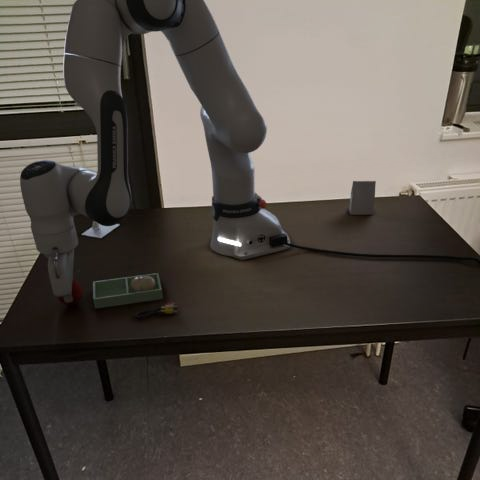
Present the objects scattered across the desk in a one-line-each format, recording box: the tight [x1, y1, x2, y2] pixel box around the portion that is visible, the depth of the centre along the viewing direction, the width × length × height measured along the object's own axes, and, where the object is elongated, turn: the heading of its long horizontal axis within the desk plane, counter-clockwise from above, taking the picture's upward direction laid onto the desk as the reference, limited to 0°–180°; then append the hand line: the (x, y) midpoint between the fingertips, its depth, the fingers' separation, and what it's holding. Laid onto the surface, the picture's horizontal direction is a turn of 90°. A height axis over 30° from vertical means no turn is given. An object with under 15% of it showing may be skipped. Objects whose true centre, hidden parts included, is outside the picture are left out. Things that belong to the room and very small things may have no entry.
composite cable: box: [134, 301, 179, 320], centre depth 117 cm, size 10×5×2 cm, turn 95°
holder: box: [92, 272, 164, 309], centre depth 123 cm, size 16×8×3 cm, turn 103°
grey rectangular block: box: [348, 180, 377, 216], centre depth 158 cm, size 4×7×10 cm, turn 87°
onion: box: [57, 278, 84, 307], centre depth 119 cm, size 6×6×8 cm
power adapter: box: [81, 221, 121, 239], centre depth 153 cm, size 3×3×3 cm
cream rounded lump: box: [131, 275, 156, 292], centre depth 123 cm, size 6×4×4 cm
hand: (69, 292), depth 119 cm, fingers closed on onion, 6 cm apart
